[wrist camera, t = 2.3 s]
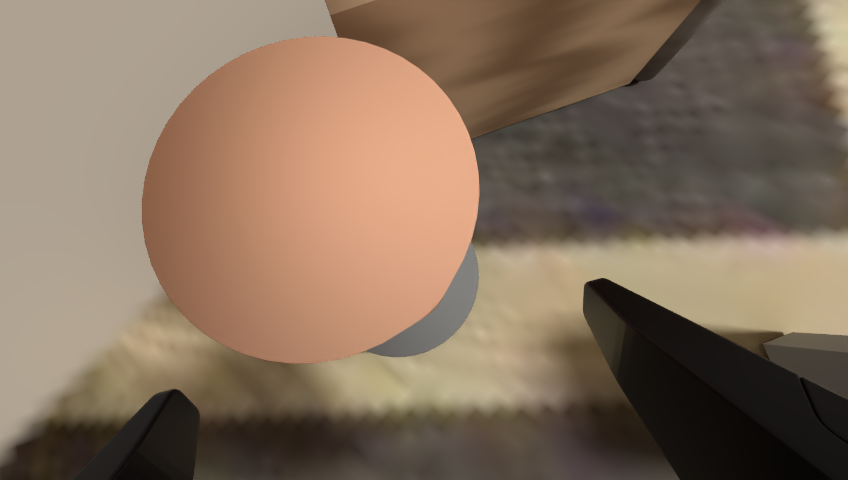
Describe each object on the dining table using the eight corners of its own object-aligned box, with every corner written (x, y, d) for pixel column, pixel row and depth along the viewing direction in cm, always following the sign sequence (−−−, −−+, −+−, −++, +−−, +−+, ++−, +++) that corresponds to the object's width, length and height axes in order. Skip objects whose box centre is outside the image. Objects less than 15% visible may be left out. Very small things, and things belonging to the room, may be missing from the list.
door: (642, 30, 20) (845, -245, 10) (665, 73, 19) (902, -170, 10) (369, 124, 19) (300, -68, 10) (386, 171, 19) (332, 20, 9)
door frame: (861, 463, 16) (1566, 716, 6) (828, 475, 16) (1486, 751, 6) (618, 0, 21) (796, -301, 10) (592, 9, 20) (746, -286, 10)
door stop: (497, 322, 18) (680, 358, 4) (353, 375, 18) (97, 576, 4) (445, 185, 19) (466, -103, 6) (310, 233, 19) (7, 47, 6)
